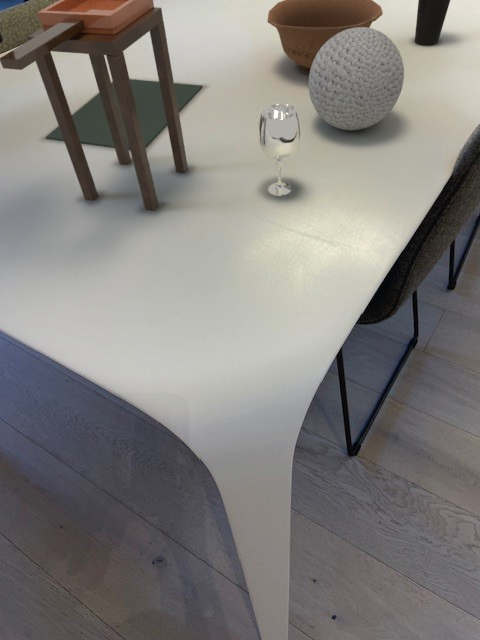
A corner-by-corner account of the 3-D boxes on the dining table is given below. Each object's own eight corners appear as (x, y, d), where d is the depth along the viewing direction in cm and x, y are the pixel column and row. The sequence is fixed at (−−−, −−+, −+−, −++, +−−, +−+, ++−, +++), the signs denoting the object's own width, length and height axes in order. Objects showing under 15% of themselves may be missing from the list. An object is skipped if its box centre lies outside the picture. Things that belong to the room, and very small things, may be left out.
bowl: (256, 87, 98) (253, 26, 90) (282, 46, 112) (282, -10, 104) (368, 94, 93) (375, 29, 85) (381, 49, 107) (389, -9, 98)
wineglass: (289, 176, 76) (289, 98, 67) (305, 195, 72) (308, 115, 63) (254, 185, 75) (250, 107, 66) (269, 205, 71) (267, 126, 62)
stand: (85, 200, 75) (26, 36, 58) (123, 160, 83) (81, 4, 66) (154, 212, 72) (113, 42, 55) (188, 169, 79) (161, 7, 62)
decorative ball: (410, 138, 81) (430, 39, 70) (322, 153, 80) (328, 54, 69) (375, 100, 91) (387, 8, 80) (297, 113, 90) (298, 21, 79)
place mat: (46, 140, 90) (45, 136, 89) (117, 80, 106) (117, 77, 105) (142, 153, 84) (142, 149, 84) (202, 88, 100) (202, 85, 99)
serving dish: (-24, 71, 52) (-33, 50, 51) (88, 4, 65) (83, -14, 64) (54, 78, 49) (47, 57, 48) (154, 7, 63) (151, -12, 61)
